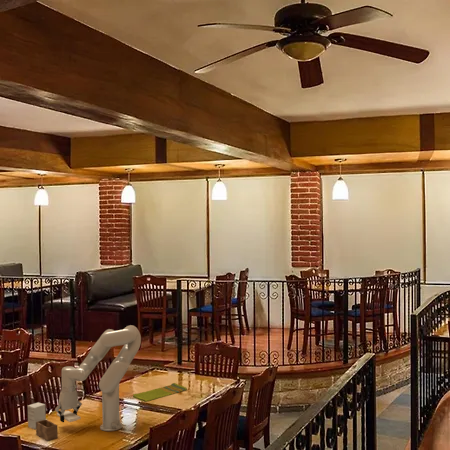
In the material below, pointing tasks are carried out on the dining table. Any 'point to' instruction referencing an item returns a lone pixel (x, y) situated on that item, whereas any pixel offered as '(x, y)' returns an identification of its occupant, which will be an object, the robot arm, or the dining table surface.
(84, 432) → the dining table surface
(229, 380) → the dining table surface
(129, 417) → the dining table surface
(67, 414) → the lid
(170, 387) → the dish towel
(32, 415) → the supplement box
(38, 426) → the crate
